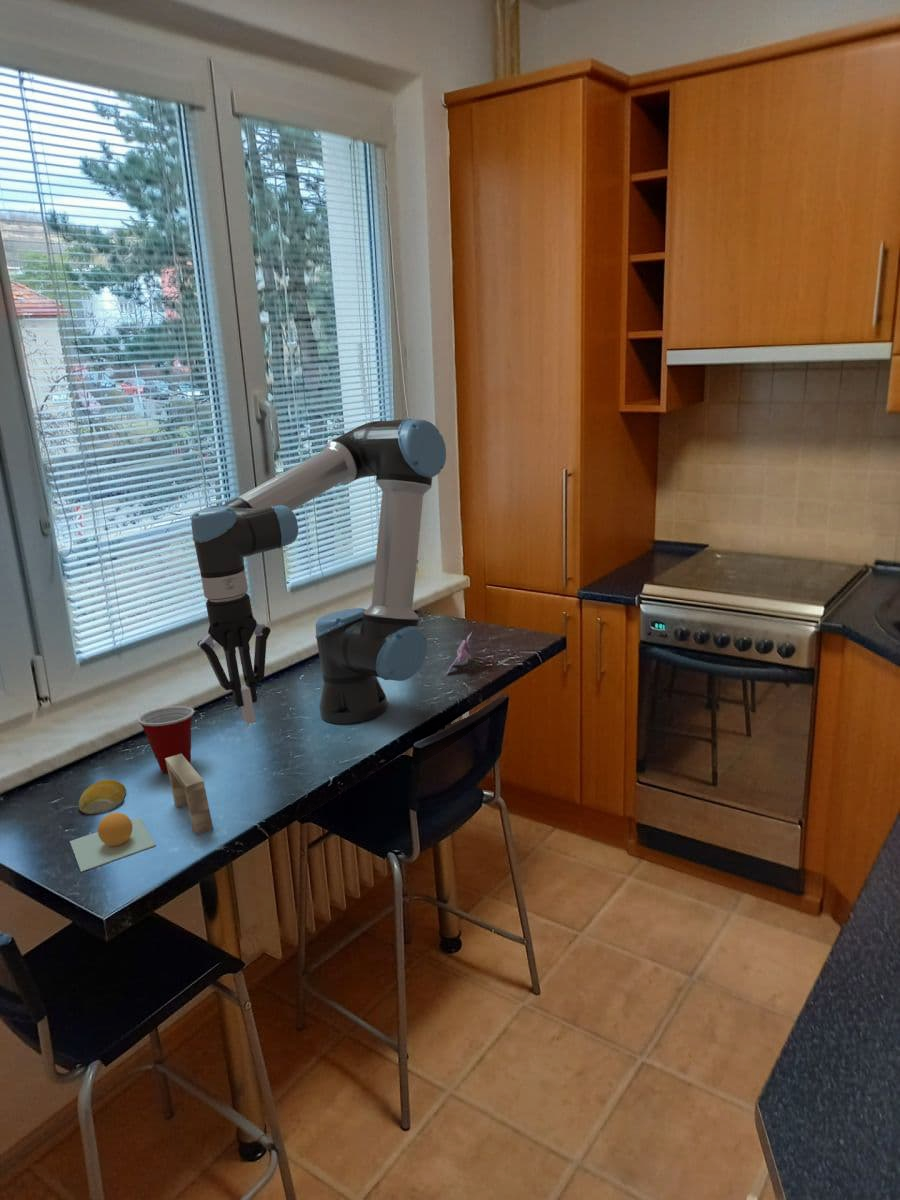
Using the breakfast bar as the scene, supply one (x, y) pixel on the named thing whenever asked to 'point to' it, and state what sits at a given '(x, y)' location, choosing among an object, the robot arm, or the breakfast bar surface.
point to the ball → (115, 829)
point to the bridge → (189, 792)
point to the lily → (463, 652)
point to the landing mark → (110, 847)
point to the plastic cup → (168, 732)
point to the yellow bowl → (102, 797)
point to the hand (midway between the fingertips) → (249, 720)
